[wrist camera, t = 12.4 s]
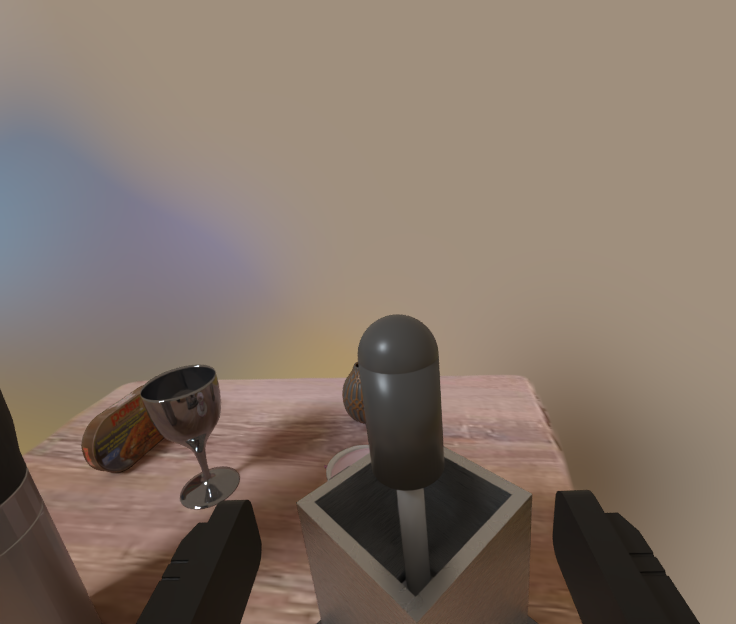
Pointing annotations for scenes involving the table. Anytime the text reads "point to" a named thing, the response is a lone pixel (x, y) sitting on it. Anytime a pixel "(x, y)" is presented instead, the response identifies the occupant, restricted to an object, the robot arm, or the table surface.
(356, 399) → the vase
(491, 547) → the square planter box
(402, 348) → the screwdriver
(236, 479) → the wine glass
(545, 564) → the table surface
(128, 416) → the tin
